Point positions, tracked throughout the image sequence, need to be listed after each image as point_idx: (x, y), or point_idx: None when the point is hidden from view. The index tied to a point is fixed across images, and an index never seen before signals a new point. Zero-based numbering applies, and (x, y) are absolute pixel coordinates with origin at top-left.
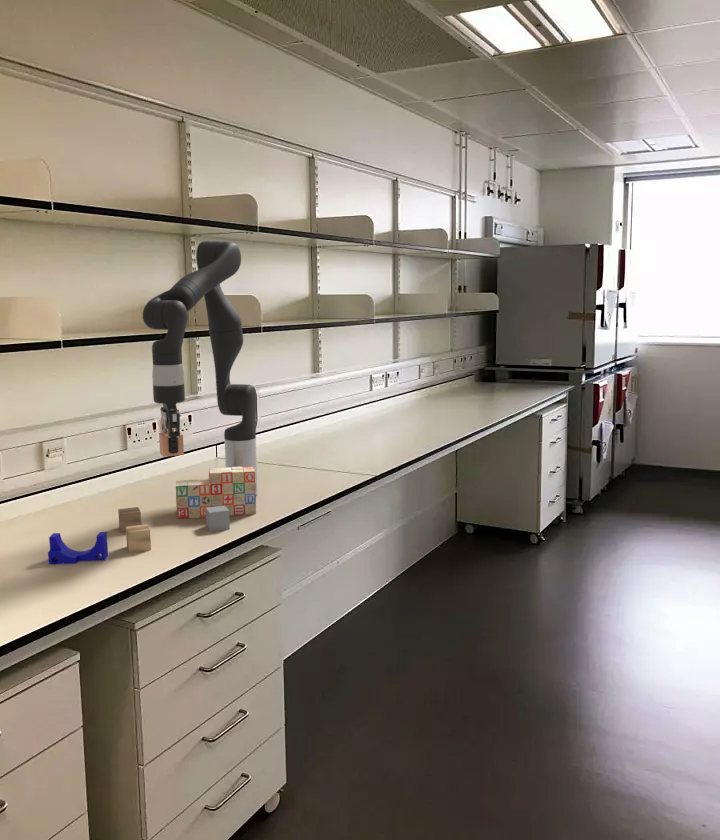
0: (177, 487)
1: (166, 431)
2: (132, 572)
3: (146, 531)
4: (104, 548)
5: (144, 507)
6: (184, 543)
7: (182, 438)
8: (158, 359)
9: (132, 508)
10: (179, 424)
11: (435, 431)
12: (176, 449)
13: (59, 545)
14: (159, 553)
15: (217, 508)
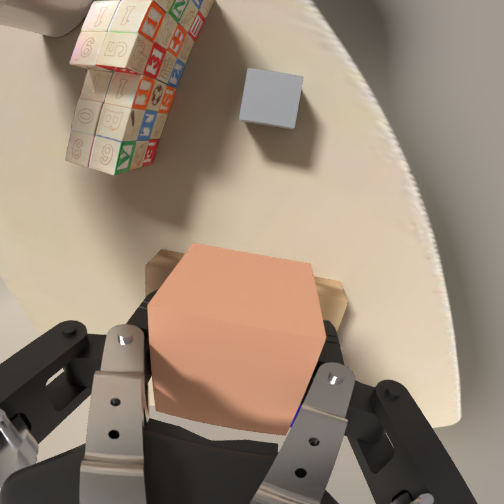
0: (116, 170)
1: (146, 384)
2: (416, 331)
3: (345, 307)
4: None
5: (55, 204)
6: (343, 213)
7: (322, 324)
8: None
9: (152, 279)
10: (447, 454)
11: None
12: (333, 329)
13: (299, 410)
14: (369, 275)
15: (265, 94)
